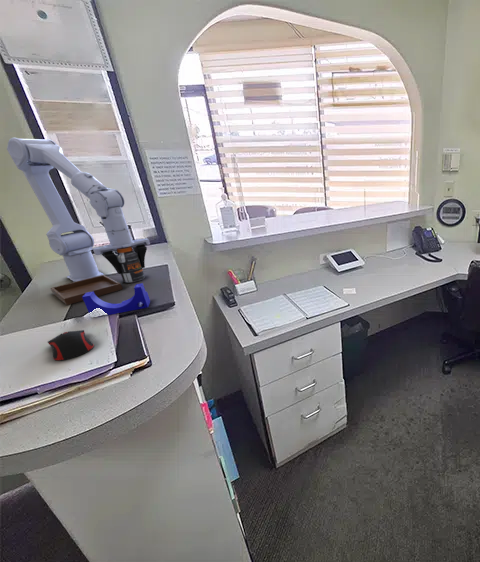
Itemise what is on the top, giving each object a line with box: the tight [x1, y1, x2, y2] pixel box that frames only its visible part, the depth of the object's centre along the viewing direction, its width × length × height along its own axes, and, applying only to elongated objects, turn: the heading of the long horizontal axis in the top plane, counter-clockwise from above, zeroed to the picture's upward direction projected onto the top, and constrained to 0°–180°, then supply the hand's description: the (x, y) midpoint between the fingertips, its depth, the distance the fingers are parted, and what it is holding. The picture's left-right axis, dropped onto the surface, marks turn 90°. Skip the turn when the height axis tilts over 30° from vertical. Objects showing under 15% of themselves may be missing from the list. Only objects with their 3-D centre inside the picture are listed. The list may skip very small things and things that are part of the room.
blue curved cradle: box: [82, 282, 151, 316], centre depth 81 cm, size 12×4×6 cm, turn 117°
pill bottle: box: [116, 246, 146, 284], centre depth 102 cm, size 6×6×11 cm
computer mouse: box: [47, 329, 95, 362], centre depth 65 cm, size 6×11×4 cm, turn 51°
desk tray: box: [50, 274, 124, 306], centre depth 95 cm, size 15×13×2 cm
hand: (131, 270), depth 102 cm, fingers closed on pill bottle, 6 cm apart
